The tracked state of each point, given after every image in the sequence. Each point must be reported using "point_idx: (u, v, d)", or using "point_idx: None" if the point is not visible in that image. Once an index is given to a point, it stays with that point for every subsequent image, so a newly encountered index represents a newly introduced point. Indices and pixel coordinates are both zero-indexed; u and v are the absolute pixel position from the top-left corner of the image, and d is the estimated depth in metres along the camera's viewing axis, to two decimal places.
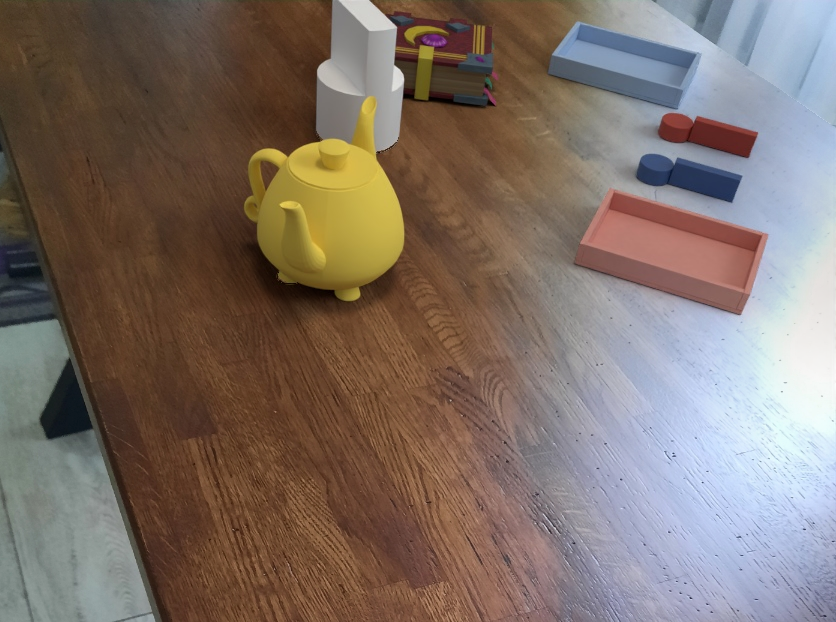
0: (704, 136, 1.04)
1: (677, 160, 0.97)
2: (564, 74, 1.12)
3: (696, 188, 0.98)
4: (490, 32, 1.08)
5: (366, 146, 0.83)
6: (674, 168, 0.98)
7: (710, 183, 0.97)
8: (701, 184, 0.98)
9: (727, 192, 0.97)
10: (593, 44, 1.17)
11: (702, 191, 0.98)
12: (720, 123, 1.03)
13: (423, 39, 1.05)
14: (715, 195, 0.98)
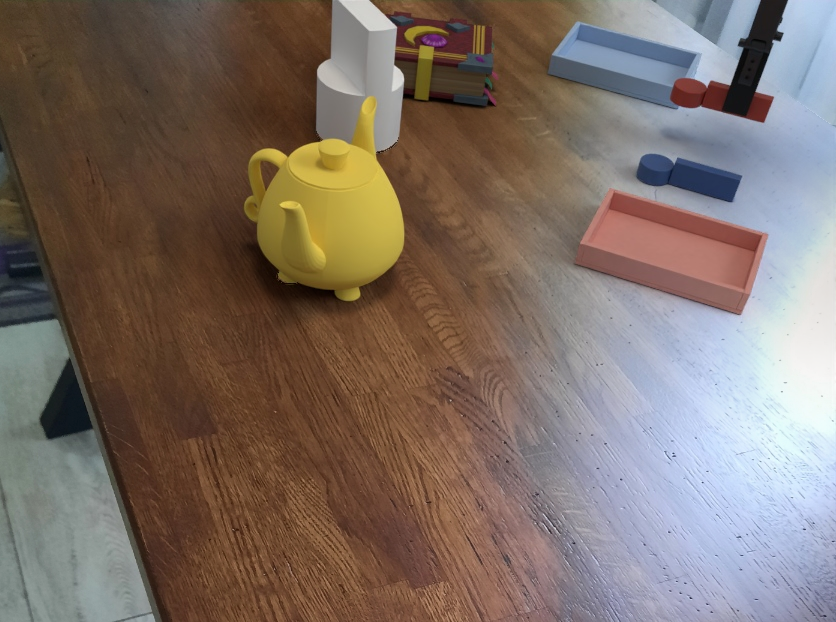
0: (718, 101, 1.01)
1: (677, 160, 0.97)
2: (564, 74, 1.12)
3: (696, 188, 0.98)
4: (490, 32, 1.08)
5: (366, 146, 0.83)
6: (674, 168, 0.98)
7: (710, 183, 0.97)
8: (701, 184, 0.98)
9: (727, 192, 0.97)
10: (593, 44, 1.17)
11: (702, 191, 0.98)
12: None
13: (423, 39, 1.05)
14: (715, 195, 0.98)
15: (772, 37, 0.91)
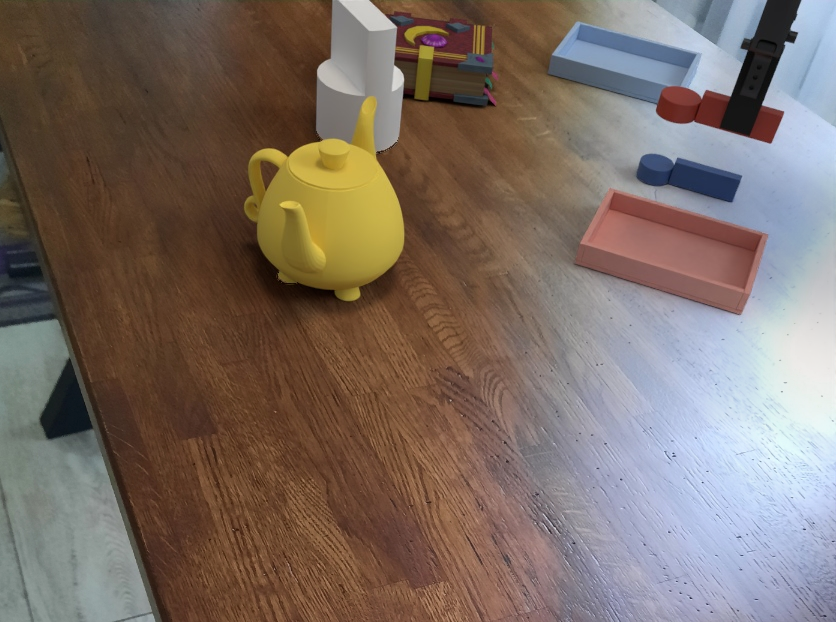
0: (715, 116, 0.81)
1: (677, 160, 0.97)
2: (564, 74, 1.12)
3: (696, 188, 0.98)
4: (490, 32, 1.08)
5: (366, 146, 0.83)
6: (674, 168, 0.98)
7: (710, 183, 0.97)
8: (701, 184, 0.98)
9: (727, 192, 0.97)
10: (593, 44, 1.17)
11: (702, 191, 0.98)
12: None
13: (423, 39, 1.05)
14: (715, 195, 0.98)
15: (784, 38, 0.72)
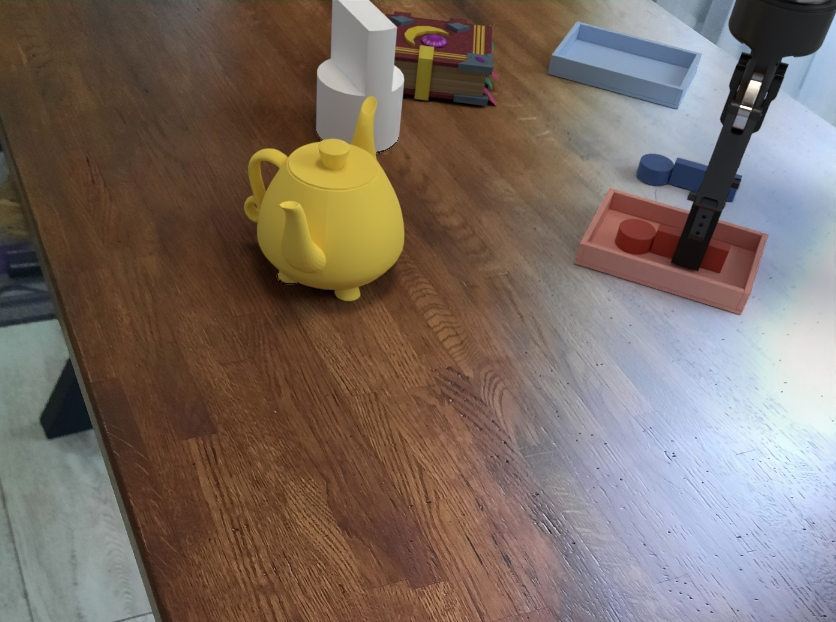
0: (668, 248, 0.89)
1: (677, 160, 0.97)
2: (564, 74, 1.12)
3: (696, 188, 0.98)
4: (490, 32, 1.08)
5: (366, 146, 0.83)
6: (674, 168, 0.98)
7: None
8: None
9: None
10: (593, 44, 1.17)
11: None
12: None
13: (423, 39, 1.05)
14: None
15: (725, 197, 0.79)
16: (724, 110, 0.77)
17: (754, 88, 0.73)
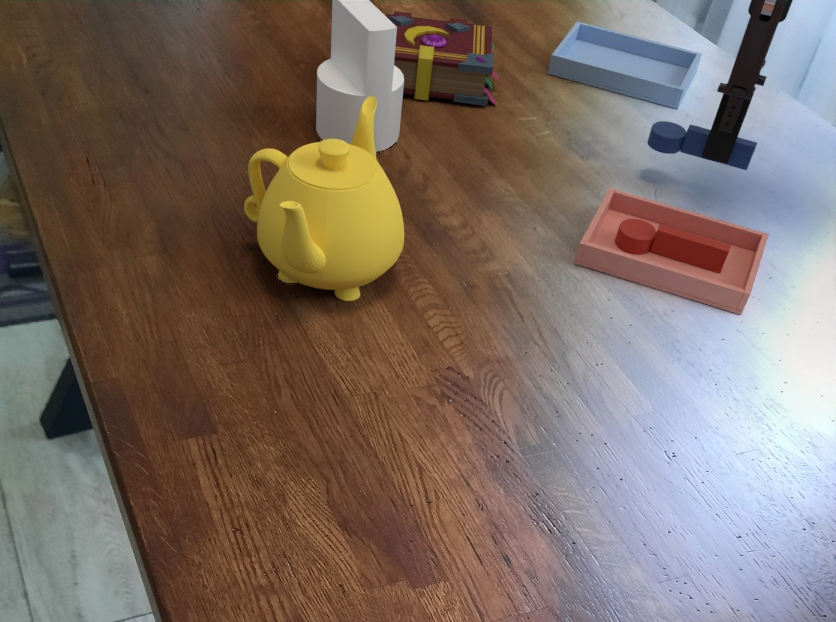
0: (668, 248, 0.89)
1: (690, 127, 0.94)
2: (564, 74, 1.12)
3: None
4: (490, 32, 1.08)
5: (366, 146, 0.83)
6: (686, 135, 0.95)
7: None
8: None
9: (741, 160, 0.94)
10: (593, 44, 1.17)
11: None
12: (686, 234, 0.88)
13: (423, 39, 1.05)
14: (729, 163, 0.95)
15: (753, 84, 0.86)
16: (752, 1, 0.83)
17: None
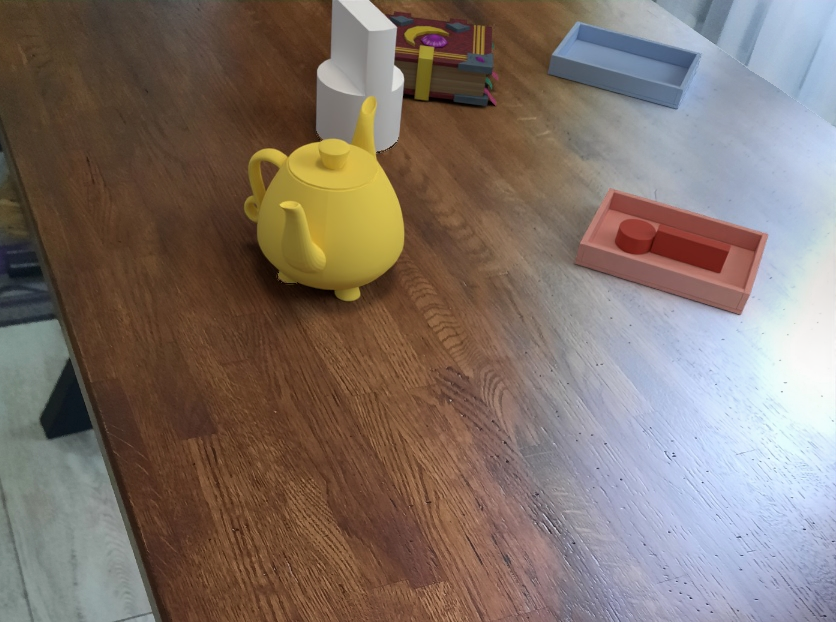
0: (668, 248, 0.89)
1: None
2: (564, 74, 1.12)
3: None
4: (490, 32, 1.08)
5: (366, 146, 0.83)
6: None
7: None
8: None
9: None
10: (593, 44, 1.17)
11: None
12: (686, 234, 0.88)
13: (423, 39, 1.05)
14: None
15: None
16: None
17: None
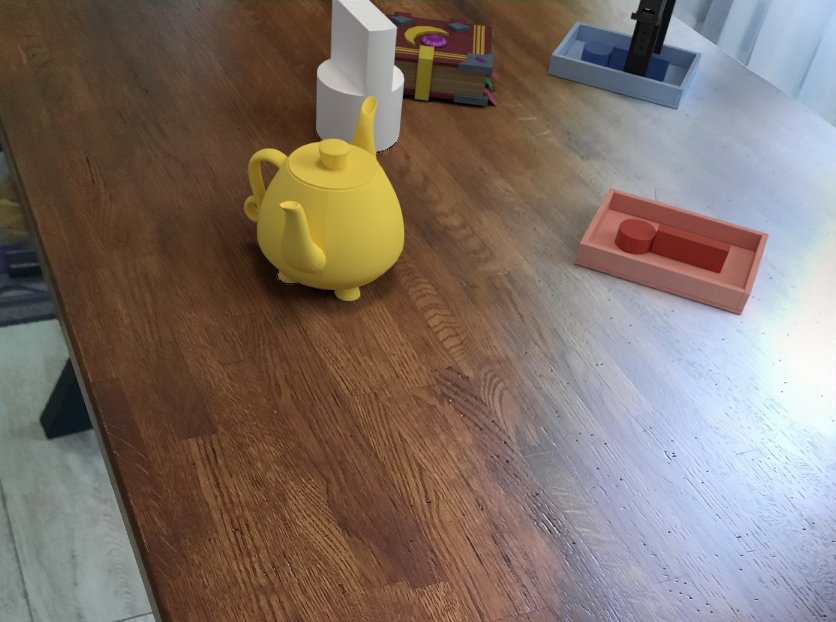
0: (668, 248, 0.89)
1: (615, 45, 1.12)
2: (564, 74, 1.12)
3: None
4: (490, 32, 1.08)
5: (366, 146, 0.83)
6: (612, 52, 1.12)
7: None
8: None
9: (658, 73, 1.12)
10: None
11: None
12: (686, 234, 0.88)
13: (423, 39, 1.05)
14: (648, 76, 1.13)
15: (659, 6, 1.01)
16: None
17: None
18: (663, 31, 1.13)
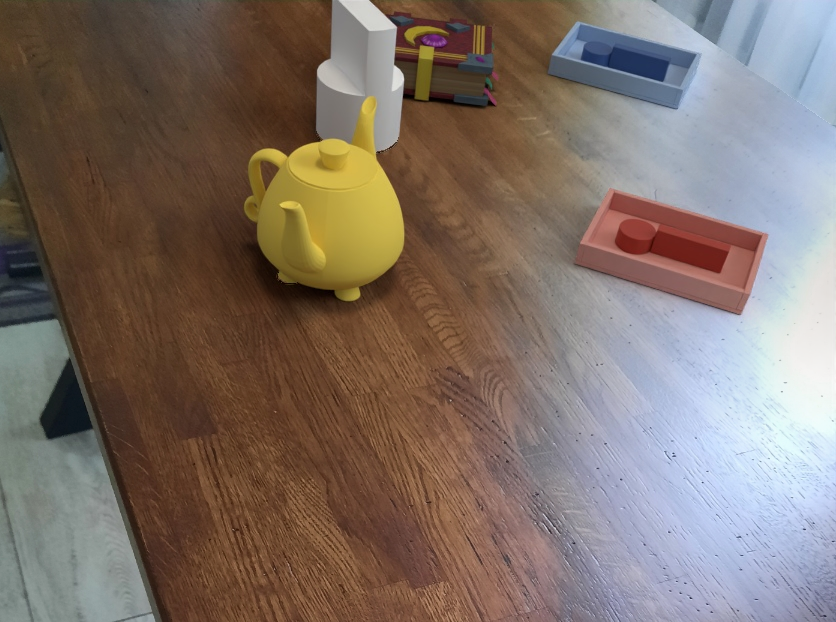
0: (668, 248, 0.89)
1: (615, 45, 1.12)
2: (564, 74, 1.12)
3: (632, 70, 1.13)
4: (490, 32, 1.08)
5: (366, 146, 0.83)
6: (612, 52, 1.12)
7: (643, 65, 1.12)
8: (636, 66, 1.12)
9: (658, 73, 1.12)
10: None
11: (637, 72, 1.13)
12: (686, 234, 0.88)
13: (423, 39, 1.05)
14: (648, 76, 1.13)
15: None
16: None
17: None
18: None
